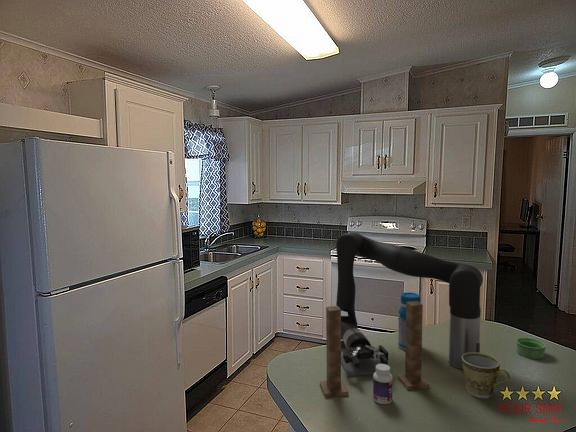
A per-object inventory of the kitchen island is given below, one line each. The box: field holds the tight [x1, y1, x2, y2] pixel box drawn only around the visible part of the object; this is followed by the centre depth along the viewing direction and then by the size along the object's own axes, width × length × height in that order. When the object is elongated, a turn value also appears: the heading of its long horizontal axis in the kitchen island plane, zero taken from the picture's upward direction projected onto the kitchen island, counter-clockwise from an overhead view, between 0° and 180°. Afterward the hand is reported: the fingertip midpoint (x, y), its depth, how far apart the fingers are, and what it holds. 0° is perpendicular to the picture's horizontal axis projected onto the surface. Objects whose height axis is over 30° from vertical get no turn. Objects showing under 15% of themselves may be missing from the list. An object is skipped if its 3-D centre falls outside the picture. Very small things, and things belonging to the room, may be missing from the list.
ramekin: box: [515, 337, 547, 360], centre depth 137 cm, size 9×9×4 cm
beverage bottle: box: [397, 292, 421, 352], centre depth 143 cm, size 8×8×20 cm
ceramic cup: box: [462, 352, 510, 400], centre depth 112 cm, size 13×10×10 cm
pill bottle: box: [372, 363, 393, 405], centre depth 110 cm, size 5×5×10 cm
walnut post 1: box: [319, 305, 350, 399], centre depth 115 cm, size 7×7×25 cm
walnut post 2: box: [397, 301, 430, 391], centre depth 118 cm, size 7×7×25 cm
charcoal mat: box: [341, 356, 379, 377], centre depth 130 cm, size 12×12×1 cm
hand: (372, 365), depth 119 cm, fingers open, 8 cm apart
